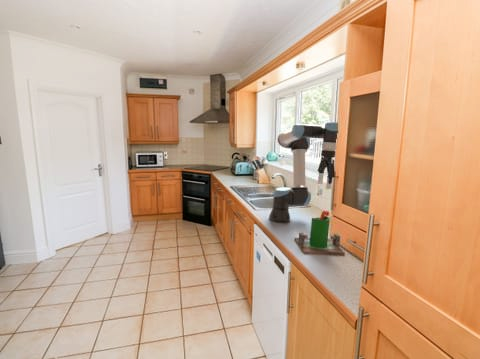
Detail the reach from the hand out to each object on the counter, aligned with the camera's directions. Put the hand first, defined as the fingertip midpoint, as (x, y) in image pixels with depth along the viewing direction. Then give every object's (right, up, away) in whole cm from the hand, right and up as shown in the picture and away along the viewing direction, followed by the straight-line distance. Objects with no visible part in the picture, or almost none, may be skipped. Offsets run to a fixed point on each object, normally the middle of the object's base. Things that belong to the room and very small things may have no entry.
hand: (324, 186), depth 151 cm
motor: (-5, -32, -7) cm, 34 cm away
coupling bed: (-5, -34, -6) cm, 35 cm away
